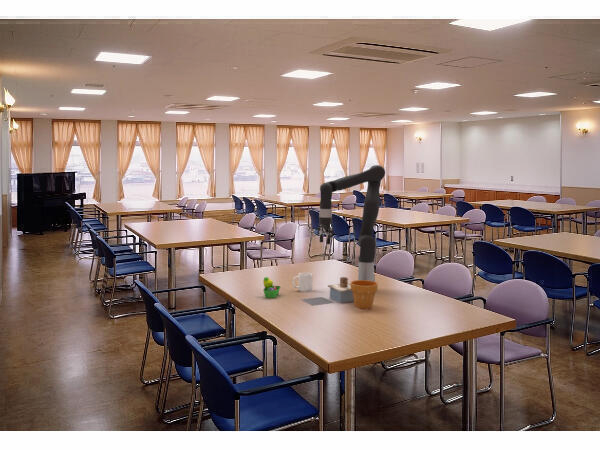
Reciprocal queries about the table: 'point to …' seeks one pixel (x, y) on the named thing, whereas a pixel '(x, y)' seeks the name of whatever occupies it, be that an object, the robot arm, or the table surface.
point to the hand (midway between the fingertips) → (325, 243)
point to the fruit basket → (270, 288)
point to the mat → (317, 301)
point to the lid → (341, 285)
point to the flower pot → (363, 293)
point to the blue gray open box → (341, 296)
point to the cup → (304, 282)
